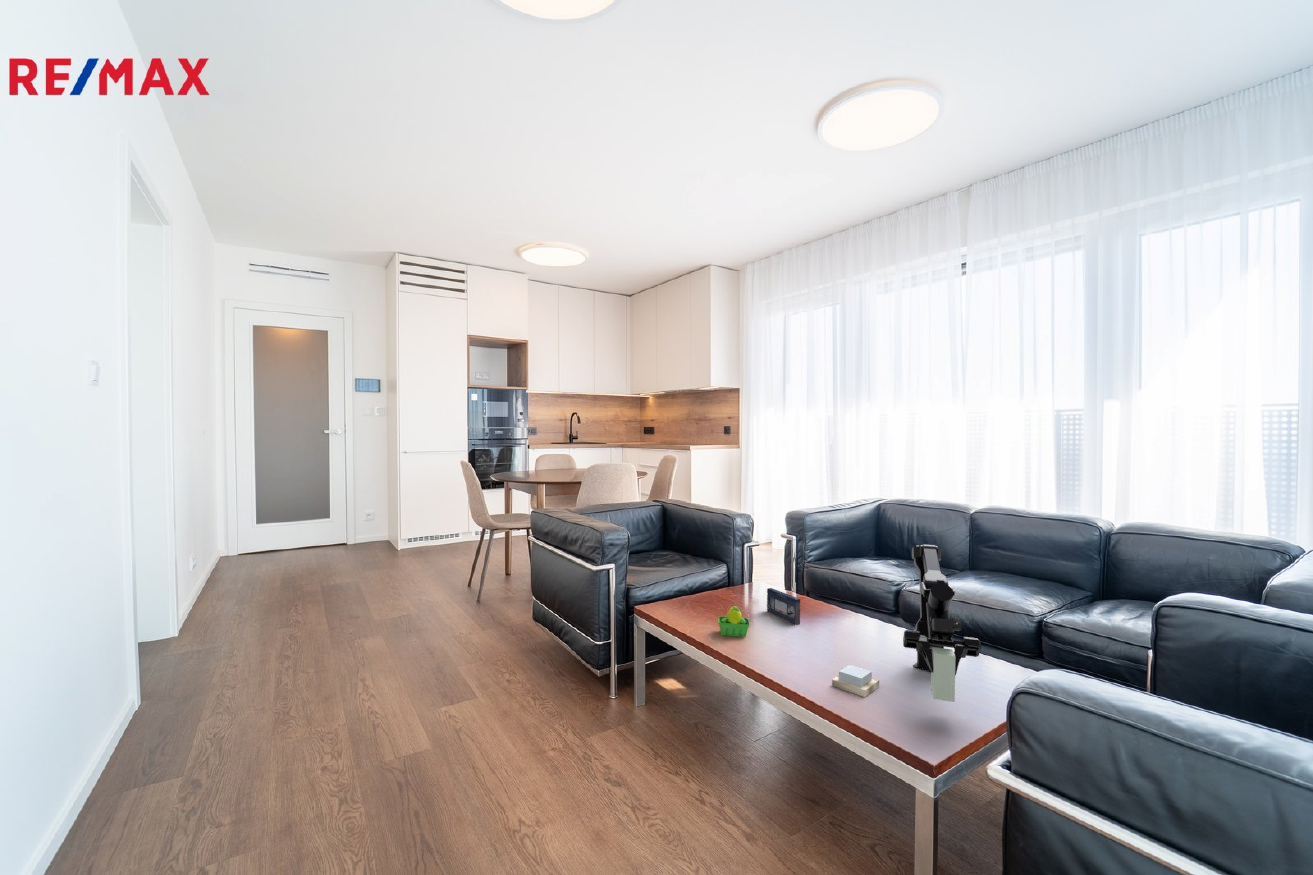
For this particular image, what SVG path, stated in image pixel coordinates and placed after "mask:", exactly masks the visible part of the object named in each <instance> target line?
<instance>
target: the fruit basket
mask: <svg viewBox="0 0 1313 875" xmlns="http://www.w3.org/2000/svg"><path fill="white" fill-rule="evenodd" d="M717 618H718V622H717V623H718V625H719V631H720V634H721V636H727V637H741V638H742V637H743V638H745V637H747V633H748V630H749V627H750V620H749V618H748V617H743V616H742V612H741V610H740V609H739V608H738V606H735V605H734V606H731V607H730V608H729V610H728V611H727V613H726V616H718V617H717Z"/></svg>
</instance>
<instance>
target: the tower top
mask: <svg viewBox="0 0 1313 875" xmlns="http://www.w3.org/2000/svg"><path fill="white" fill-rule="evenodd" d="M872 674H873V671H872V670H868V669H865V668H861V667H858V666H855V665H852V664H847V665H846V666H844V667H843V668H841V669H840V670H838V675H839V680H842V681H845V682H848V683H851V684H854V685H857V686H859V687H862V686H864V685H865V684H867V683H868V682H869V681H871V680H872V678H873V677H872V676H873V675H872Z"/></svg>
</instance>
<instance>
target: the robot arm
mask: <svg viewBox="0 0 1313 875" xmlns="http://www.w3.org/2000/svg"><path fill="white" fill-rule="evenodd" d="M911 559H912V560H913V566H914V567H915V569H916V571H917V572H918V573H919V606H920V607H919V612H920V616H919V619H918V621H917V622H916V624H915V628H914V629H913V630H912V629H905V630H904V632H903V637H902V638H903V641H902V644H903V647H904V648H905V649H913V650H915V651H916V662H915V663H914V664H912V667H913V668H917V669H919V670H923V671H926V672H930V673H931V672H932V673H933V662H932V647H937V648H944V649H945V648H949V649H954V650H953V652H954V654H955V677H956V676H957V673H958V669H959V664H960V661H961V659H962V658H963V659H965V658H966V657H967V656H968V657H974V658H975V657H980V652H981V651H982V642H981V640H980V639H979V638H975V637H971V636H969V637H968V636H963V637H962V641H961V640H954V639H953V638H954V632H955V631H956V632H961V630H962V622H961V618H960V617H952V618H951V619H950V617H951V616H950V609H951V606H952V601H953V600H954V596H955V594H956V591H955V590H954V589H953V587H952V586H951V584H950V583H949V582H948V579H947V578H948V577H947V576H946V575H944V574H943V573H942V572H941V566H940V562H941V560H942V549H941V548H940V547H938V546H937V545H936V544H920V545H915V546H913V547H912V548H911Z"/></svg>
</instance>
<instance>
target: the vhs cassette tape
mask: <svg viewBox="0 0 1313 875" xmlns="http://www.w3.org/2000/svg"><path fill="white" fill-rule="evenodd" d="M766 592H767V593H766V594H767V595H766V611H767V613H770V614H771V615H773V614H774V616H776V617H778V618H780V619H783V620H784V621H786V622H788V623H791V624H793V625H800V624H801V599H800V598H798V597H796V596H793V595H791V594H788V593H786V592H783V591H781V590H778V589H775V588H772V587H768V588H766Z"/></svg>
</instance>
